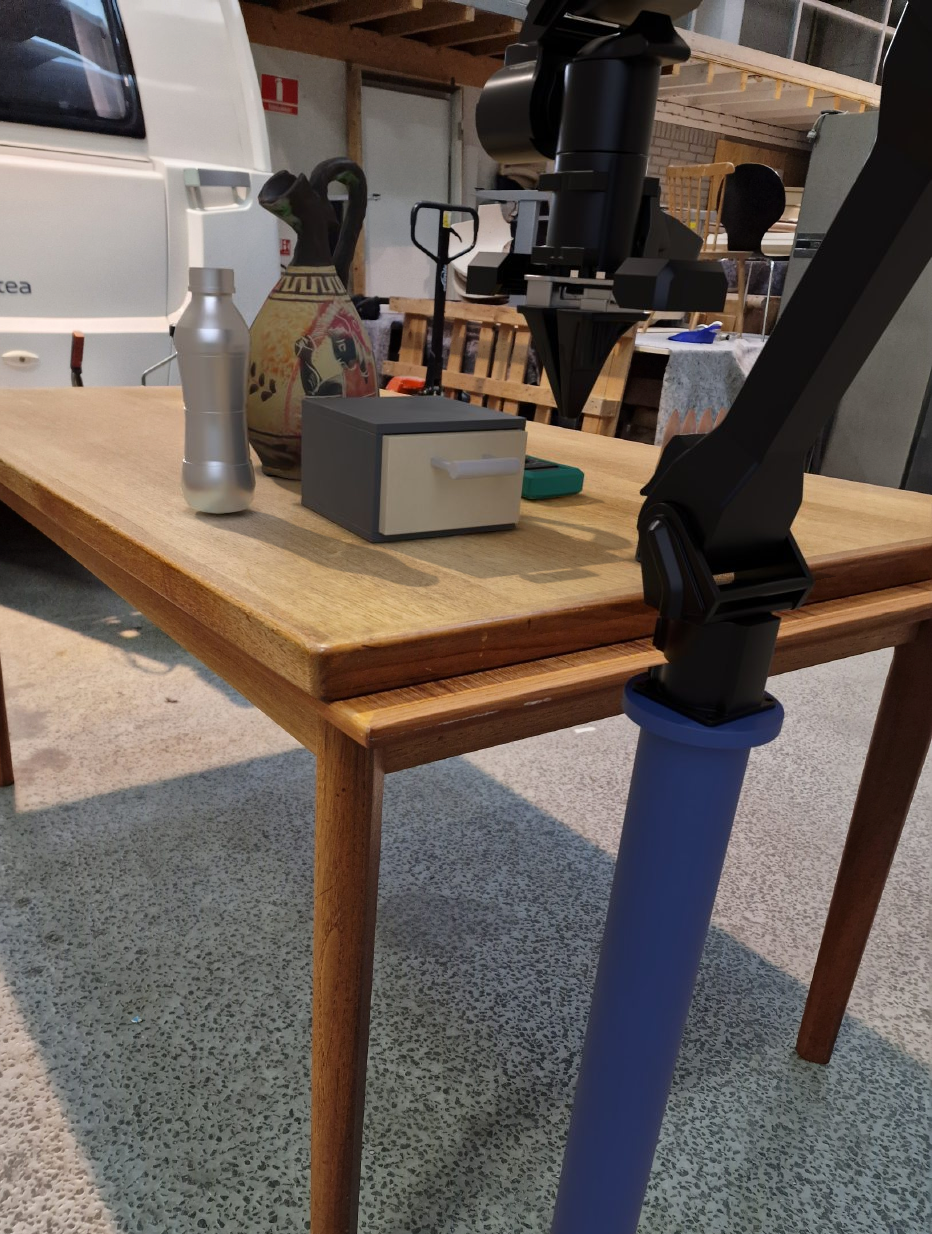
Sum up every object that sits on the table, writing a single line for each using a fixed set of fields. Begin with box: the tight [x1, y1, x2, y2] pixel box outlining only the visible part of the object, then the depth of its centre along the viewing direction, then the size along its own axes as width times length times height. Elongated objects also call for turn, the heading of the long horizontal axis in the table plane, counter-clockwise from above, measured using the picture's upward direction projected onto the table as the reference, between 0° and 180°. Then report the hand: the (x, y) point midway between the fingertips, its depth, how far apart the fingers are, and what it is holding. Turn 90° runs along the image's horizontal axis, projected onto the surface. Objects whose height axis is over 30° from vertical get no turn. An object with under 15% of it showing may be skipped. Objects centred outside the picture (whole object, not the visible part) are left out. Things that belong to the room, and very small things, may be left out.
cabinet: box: [300, 394, 528, 544], centre depth 87 cm, size 15×15×10 cm
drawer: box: [379, 429, 529, 535], centre depth 84 cm, size 18×13×8 cm
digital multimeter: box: [521, 454, 585, 500], centre depth 104 cm, size 7×15×3 cm, turn 32°
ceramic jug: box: [246, 156, 381, 481], centre depth 99 cm, size 17×15×30 cm
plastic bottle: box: [173, 266, 257, 515], centre depth 83 cm, size 6×7×20 cm
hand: (569, 418), depth 67 cm, fingers closed
